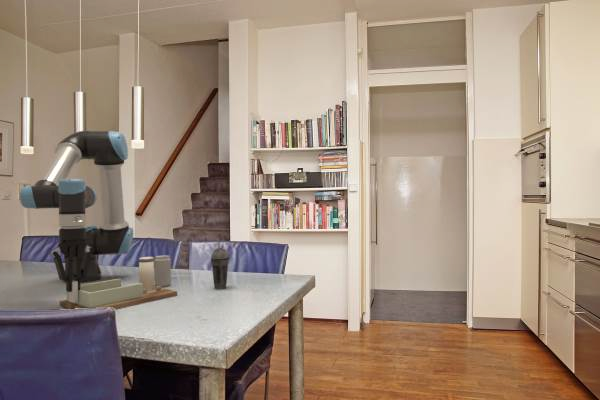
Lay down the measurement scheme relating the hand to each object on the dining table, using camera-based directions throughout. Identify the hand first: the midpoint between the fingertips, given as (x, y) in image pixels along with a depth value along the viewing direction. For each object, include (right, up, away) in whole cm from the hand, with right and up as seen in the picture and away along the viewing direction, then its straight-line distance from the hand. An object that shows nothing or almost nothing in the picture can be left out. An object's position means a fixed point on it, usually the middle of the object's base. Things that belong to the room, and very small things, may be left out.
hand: (73, 301), depth 136 cm
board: (+10, -3, +13) cm, 16 cm away
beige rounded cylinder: (+16, -1, +21) cm, 26 cm away
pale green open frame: (+7, -1, +8) cm, 11 cm away
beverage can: (+17, -3, +36) cm, 40 cm away
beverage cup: (+41, -2, +32) cm, 52 cm away
